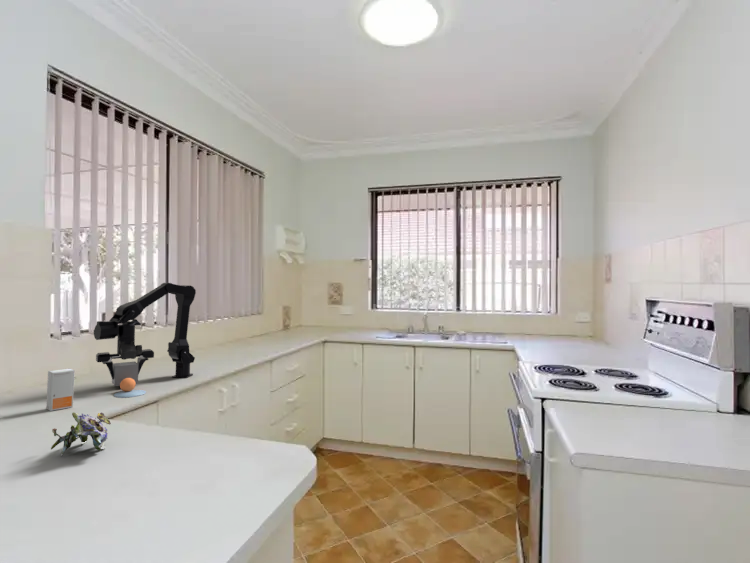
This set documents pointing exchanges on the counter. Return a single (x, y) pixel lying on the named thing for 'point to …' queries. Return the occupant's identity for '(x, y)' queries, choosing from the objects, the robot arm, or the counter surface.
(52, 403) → the skincare box
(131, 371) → the matte grey cuboid
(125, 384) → the ball
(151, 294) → the robot arm
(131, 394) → the disc
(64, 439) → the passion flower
